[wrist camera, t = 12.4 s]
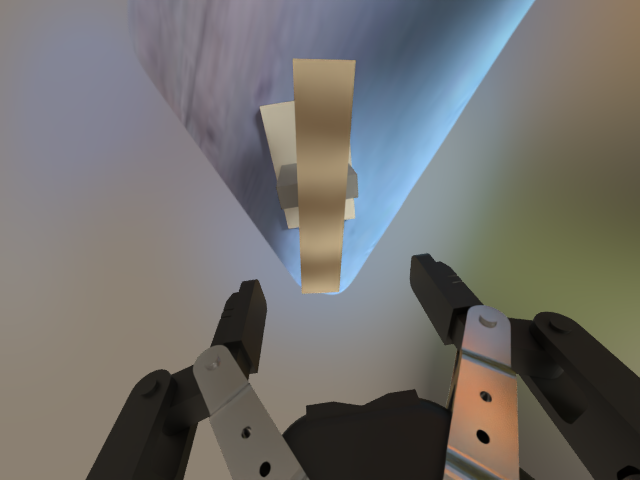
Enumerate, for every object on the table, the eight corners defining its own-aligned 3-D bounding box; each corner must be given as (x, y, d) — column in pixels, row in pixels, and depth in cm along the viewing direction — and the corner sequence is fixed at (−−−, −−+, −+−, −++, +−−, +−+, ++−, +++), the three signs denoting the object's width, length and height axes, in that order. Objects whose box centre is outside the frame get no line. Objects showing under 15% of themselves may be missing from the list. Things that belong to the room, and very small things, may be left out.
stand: (261, 106, 28) (244, 110, 20) (344, 92, 28) (364, 90, 19) (288, 224, 36) (285, 263, 28) (353, 214, 36) (369, 250, 28)
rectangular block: (334, 268, 29) (339, 291, 25) (301, 270, 29) (301, 293, 25) (345, 66, 19) (355, 60, 15) (293, 65, 18) (292, 58, 15)
